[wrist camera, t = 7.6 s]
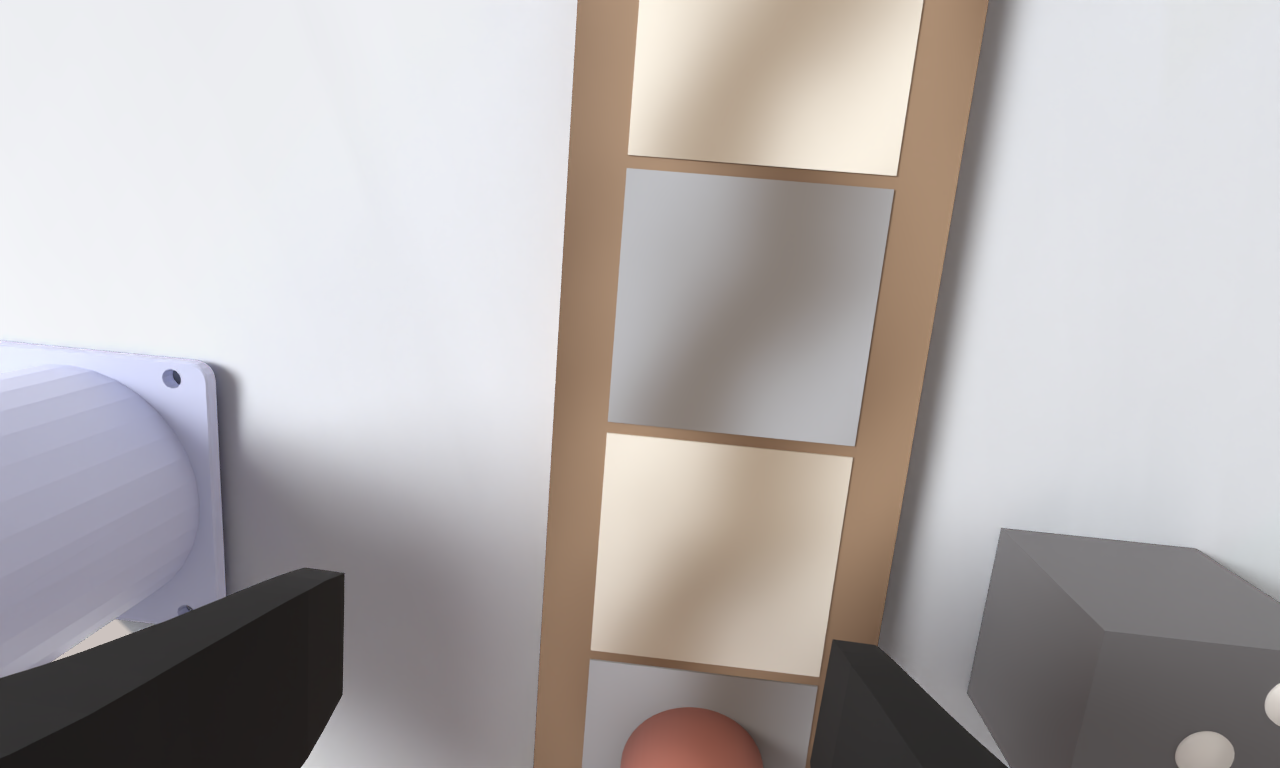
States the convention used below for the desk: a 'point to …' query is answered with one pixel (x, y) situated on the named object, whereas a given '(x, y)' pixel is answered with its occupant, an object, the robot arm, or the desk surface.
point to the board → (739, 351)
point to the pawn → (690, 742)
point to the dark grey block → (1125, 657)
